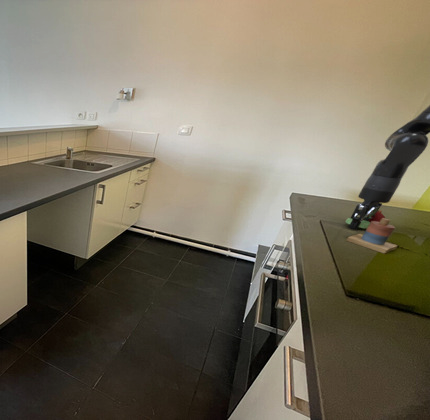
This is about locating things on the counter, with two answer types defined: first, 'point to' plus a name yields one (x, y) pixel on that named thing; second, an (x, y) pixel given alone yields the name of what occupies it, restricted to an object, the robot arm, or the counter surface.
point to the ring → (363, 224)
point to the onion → (377, 217)
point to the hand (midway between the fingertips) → (356, 228)
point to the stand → (375, 236)
